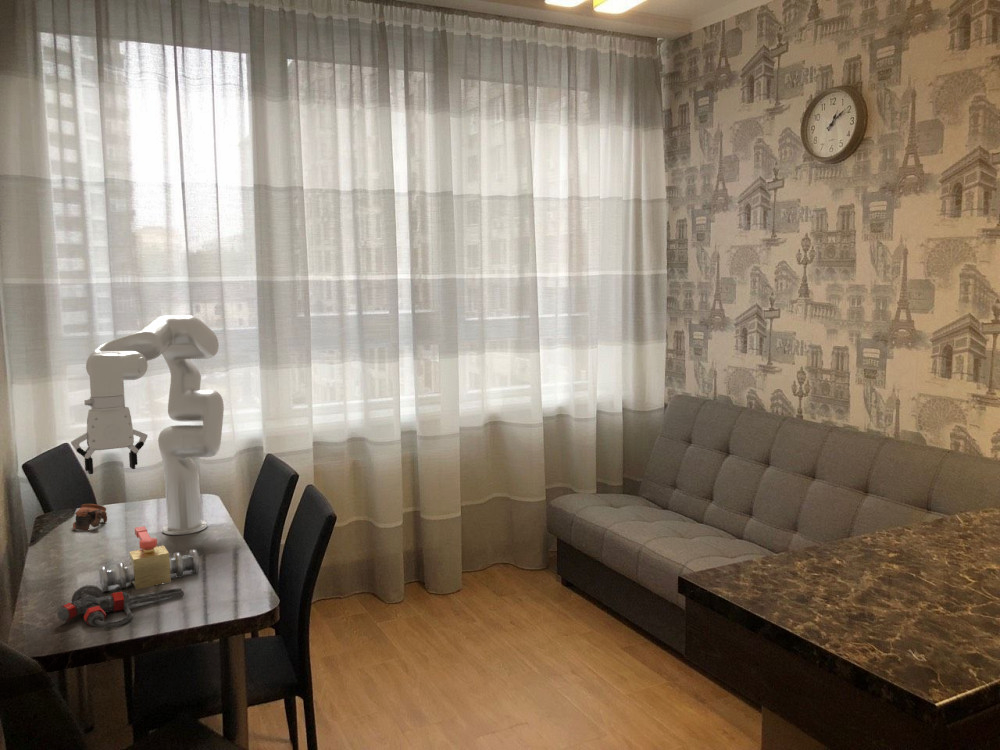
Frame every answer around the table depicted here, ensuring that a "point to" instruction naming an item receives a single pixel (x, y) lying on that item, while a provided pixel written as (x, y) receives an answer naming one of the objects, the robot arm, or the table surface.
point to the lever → (145, 538)
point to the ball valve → (149, 568)
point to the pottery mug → (89, 516)
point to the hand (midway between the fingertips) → (111, 470)
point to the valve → (107, 604)
